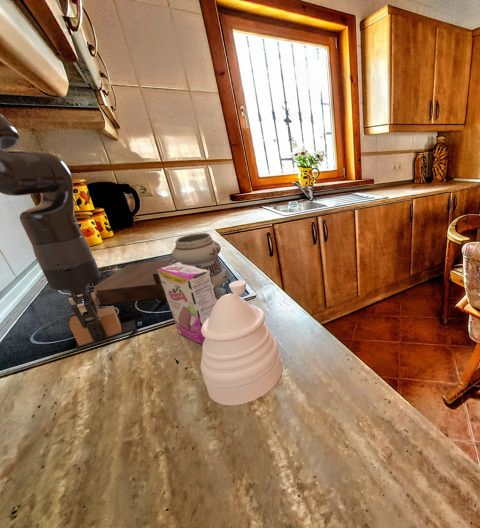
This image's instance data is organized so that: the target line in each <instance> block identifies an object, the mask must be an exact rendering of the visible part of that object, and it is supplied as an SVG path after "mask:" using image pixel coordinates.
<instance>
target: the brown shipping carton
mask: <svg viewBox="0 0 480 528" xmlns="http://www.w3.org/2000/svg"><path fill="white" fill-rule="evenodd" d="M98 314H99V317H100V319H101V323H102V325H103V328H104V330H105V332H106V338H104V339H101V340H98V341H93V339H92V337H91V335H90V333H89V331H88V329H87V328H83V327H82V325H81V323H80V321H79V319H78V318H77V316H76V315H73V316H71V317H70V321H69V325H68V327H69V328H70V330H71V332H72V333H71V334H72V336H73V337H74V339H75V341H76V344H75V349H76V350H79V349H83V348H84V347H87V346H90V345H93V344H97V343H99V342H103V341H106V340H109V339H111V338H114V337H118V336H121V335H124V334H126V333H129V334H128V337H131V336H134V335H137V334H138V328H137V326H136V322H135V320H134V319H132V320H129V321H126V322H123V323H121V320H120V318H119V316H118V314H117V311H116V309H115V306H114V305H110V306H107V307H101V309H100V311H99V312H98ZM91 319H93V318H88V319H87V321H88V320H91ZM130 332H131V333H130Z"/></svg>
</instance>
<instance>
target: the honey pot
mask: <svg viewBox="0 0 480 528" xmlns="http://www.w3.org/2000/svg"><path fill="white" fill-rule="evenodd" d="M228 287H229V289H230V292H231V293H228V294H225V295H223V296H222V297H220V298H219V299H218V301H217V302H216V303H215V305H214V307H213V309H212V311H211V314H210V317H209V318H208V319H207V320H206V321H205V322H204V323H203V325H202V328H201V332H202V335H203V336H204V337H205V341H204V342H203V345H202V347H201V350H202V353H201V359H200V365H199V366H200V368H199V369H200V371H201V374H202V378H203V382H204V384H205V387H206V391H207V394H208V397H209V398H210V399H211V400H212V401H213V402H214V403H217V404H218V405H222V406H239V405H240V406H241V405H244V404H248V403H250V402H254V401H255V400H258V399H260V398H261V397H263V396H264V395H266V394H268V392H270V391H271V390H272V389H273V388H274V387H275V386H276V385H277V383H278V382H279V380H280V378H281V376H282V371H283V365H282V360H281V355H280V350H279V349H280V348H279V344H278V341H277V339H276V338H275V336H274V335H273V333H272V332H271V330H270V328H269V326H268V325H267V323H265V320H266V315H265V311H264V310H263V309H262V308H260V307H259V306H255V305H252V304H250V303H248V301H247V300H245V299H244V298H243V297H241V296H240V295H242V294H244V292H245V291H246V289H247V281H246V280H243V279H239V280H234V281H232V282H230V283H229V284H228Z"/></svg>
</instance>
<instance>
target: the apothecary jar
mask: <svg viewBox="0 0 480 528" xmlns="http://www.w3.org/2000/svg"><path fill="white" fill-rule="evenodd" d="M174 244H175V247H174V248H173V250H172V251H171V259H172V258H173V259H174V260H175V261H177V262H180V263H184V264H187V265H191V266H194V267H198V268H201V269H205V270H209V271H210V274H211V277H212V282H213V285H214V289H215V293H216V297H217V300H218V299H219V298H220V297H222V296H223V295H225V294H227V293H228V294H229V292H228V289H226V288H224V287H222V286H223V285H225V284H226V282H227V280H228V278H229V273H228V271H227V270H226V269H225V268H223V267H222V265H221V262H220V259H219V254H220V252H221V250H222V247H221V245H220V243H218V242H217V241H215V240H213V238H212V235H211V234H210V233H209V232H208V233H207V232H201V233H200V232H199V233H192V234H187V235H184V236H181V237H178V238H176V239H175V242H174Z"/></svg>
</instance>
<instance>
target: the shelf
mask: <svg viewBox="0 0 480 528" xmlns="http://www.w3.org/2000/svg"><path fill="white" fill-rule="evenodd" d="M175 263H178V262H177V261H175V260H174V259H173V258H172V257H171V258H170V259H169V260H160V261H148V262H139V263H129V264H127V265H125V266H123V268H120V269H119V270H117V271H116V272H114V273H113V274H111V275H109V276H108V277H106V278H105V279H103V280H102V281H101V282H99V283H97V284H96V285H94V286H95V288H96V291H97V296H98V298H99V300H100V306H101V305H109V304H119V303H127V302H137V301H146V300H154V299H161V301H160V302H158V304H159V305H161V304H168V301H167V298H166V295H165V292H164V289H163V286H162V283H161V280H160V277H159V274H158V272H157V270H158V269H160V268H162V267H166V266H168V265H172V264H175Z"/></svg>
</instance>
